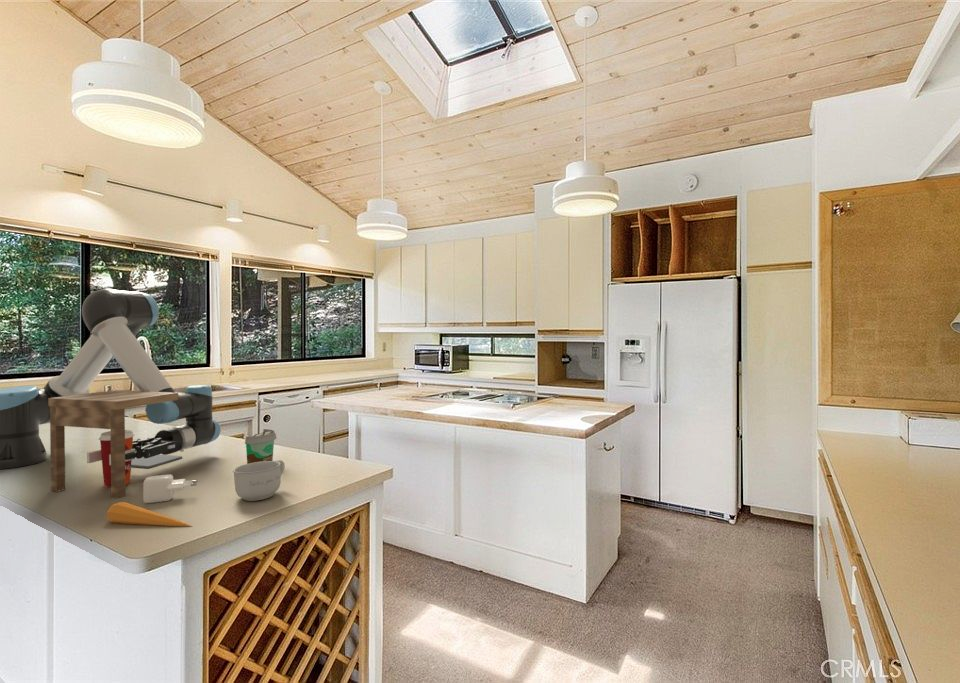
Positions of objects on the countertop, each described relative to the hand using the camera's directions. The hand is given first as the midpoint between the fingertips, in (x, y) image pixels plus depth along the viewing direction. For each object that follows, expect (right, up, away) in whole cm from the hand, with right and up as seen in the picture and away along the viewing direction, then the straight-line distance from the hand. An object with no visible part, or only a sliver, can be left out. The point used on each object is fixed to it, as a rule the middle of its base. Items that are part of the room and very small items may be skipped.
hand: (99, 459), depth 125 cm
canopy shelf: (+1, -8, +5) cm, 9 cm away
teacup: (+44, -9, -3) cm, 45 cm away
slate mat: (-5, -7, +27) cm, 28 cm away
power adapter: (+23, -9, -7) cm, 25 cm away
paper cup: (+1, -8, +5) cm, 10 cm away
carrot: (+28, -9, -22) cm, 37 cm away
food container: (+32, -8, +24) cm, 41 cm away
